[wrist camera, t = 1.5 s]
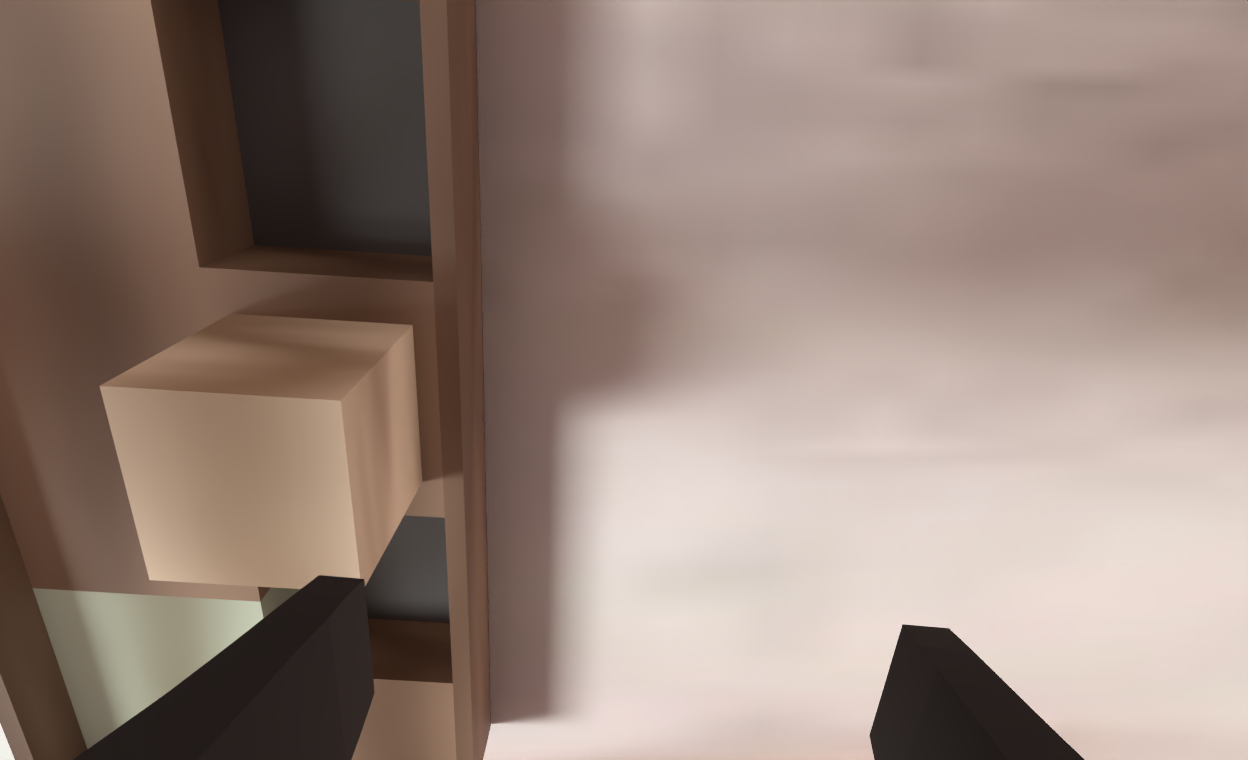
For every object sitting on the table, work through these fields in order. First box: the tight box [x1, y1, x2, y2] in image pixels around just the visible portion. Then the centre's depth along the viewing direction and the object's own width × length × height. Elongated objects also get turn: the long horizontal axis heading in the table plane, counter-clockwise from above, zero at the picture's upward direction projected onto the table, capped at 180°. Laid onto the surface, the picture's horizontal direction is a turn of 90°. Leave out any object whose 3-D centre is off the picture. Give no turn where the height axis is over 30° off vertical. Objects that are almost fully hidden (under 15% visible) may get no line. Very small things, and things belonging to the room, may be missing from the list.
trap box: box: [0, 0, 491, 760], centre depth 16 cm, size 12×26×4 cm, turn 177°
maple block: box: [100, 314, 422, 589], centre depth 14 cm, size 4×4×4 cm
